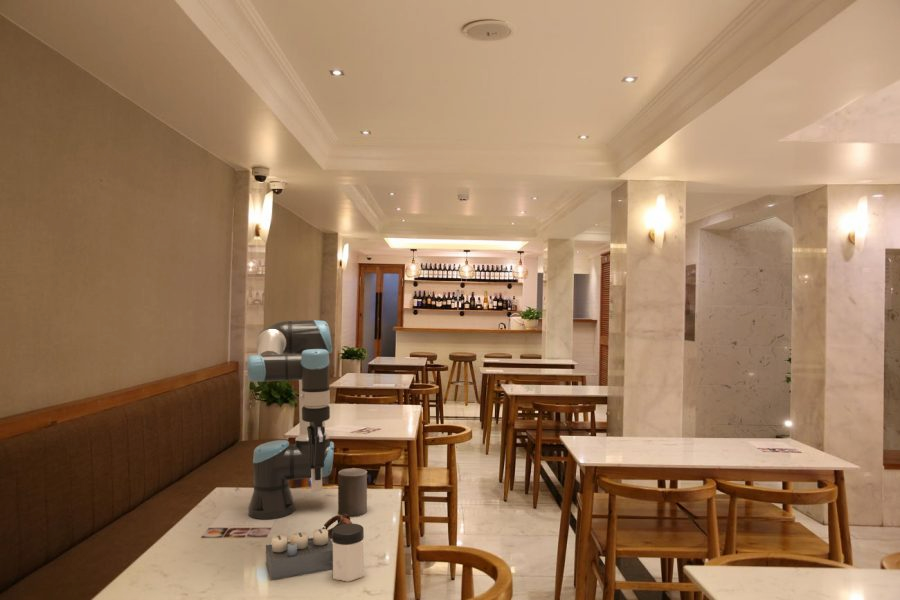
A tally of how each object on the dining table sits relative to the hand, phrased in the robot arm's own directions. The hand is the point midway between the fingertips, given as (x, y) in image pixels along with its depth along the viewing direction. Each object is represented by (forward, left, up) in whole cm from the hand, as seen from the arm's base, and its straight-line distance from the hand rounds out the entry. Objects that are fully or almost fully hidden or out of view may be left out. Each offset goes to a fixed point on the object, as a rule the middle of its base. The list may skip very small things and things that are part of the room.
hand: (316, 490), depth 174 cm
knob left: (+1, -10, -19) cm, 22 cm away
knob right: (+1, +1, -19) cm, 19 cm away
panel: (+2, -5, -19) cm, 20 cm away
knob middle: (+1, -5, -19) cm, 20 cm away
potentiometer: (+5, -8, -14) cm, 17 cm away
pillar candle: (-34, +19, -20) cm, 43 cm away
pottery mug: (-12, +10, -20) cm, 25 cm away
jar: (+12, +6, -20) cm, 24 cm away
